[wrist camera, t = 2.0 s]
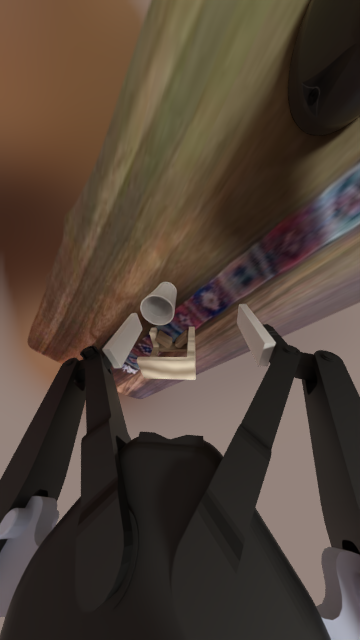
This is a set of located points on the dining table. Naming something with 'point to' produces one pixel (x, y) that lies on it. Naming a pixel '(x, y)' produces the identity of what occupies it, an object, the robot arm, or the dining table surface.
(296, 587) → the robot arm
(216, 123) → the dining table surface
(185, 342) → the shelf
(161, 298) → the cup
